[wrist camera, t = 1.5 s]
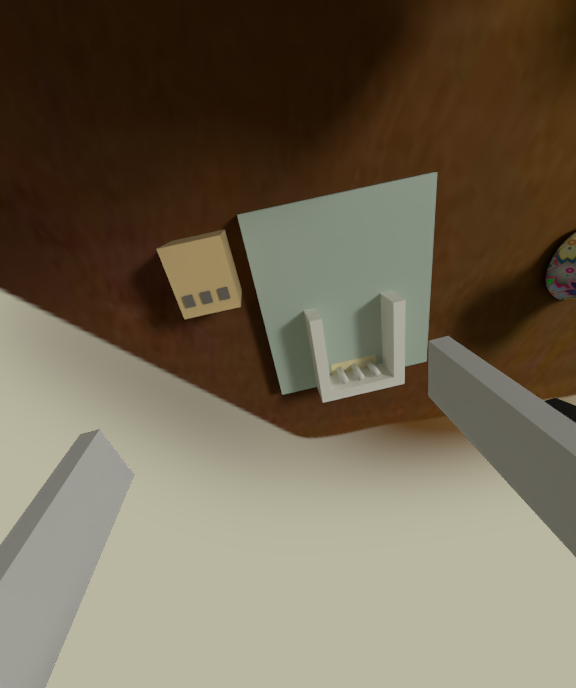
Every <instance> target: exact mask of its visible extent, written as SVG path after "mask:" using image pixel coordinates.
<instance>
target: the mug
mask: <svg viewBox="0 0 576 688" xmlns="http://www.w3.org/2000/svg"><path fill="white" fill-rule="evenodd" d="M546 286H547V289H548V291H549V292H550V294H551V295H552V296H554V297H555V298H557V299H560V300H574V299H576V232H575V233H574V234H573V235H571V236H570V237H569V238H568V239H567V240H566V241H565V242H564V243H563V244H562V245H561V246H560V247H559V248H558V250H557V251H556V252H555V254H554V255H553V257H552V259H551V261H550V263H549V266H548V268H547V272H546Z"/></svg>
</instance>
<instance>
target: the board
mask: <svg viewBox="0 0 576 688" xmlns="http://www.w3.org/2000/svg"><path fill="white" fill-rule="evenodd" d="M436 186H437V172H433V173H427V174H423V175H418V176H413V177H409V178H404V179H399V180H395V181H390V182H386V183H381V184H376V185H372V186H367V187H362V188H358V189H353V190H349V191H344V192H339V193H335V194H330V195H325V196H321V197H316V198H312V199H307V200H302V201H298V202H293V203H288V204H284V205H279V206H275V207H270V208H265V209H261V210H256V211H251V212H247V213H242V214H238V215H237V217H238V221H239V225H240V229H241V233H242V237H243V241H244V245H245V249H246V253H247V257H248V261H249V265H250V269H251V273H252V277H253V281H254V285H255V288H256V292H257V296H258V300H259V304H260V308H261V312H262V316H263V320H264V324H265V328H266V332H267V336H268V340H269V344H270V348H271V352H272V356H273V360H274V364H275V368H276V372H277V376H278V380H279V384H280V388H281V392H282V395H284V394H288V393H293V392H297V391H301V390H305V389H310V388H314V387H317V388H318V391H319V394H320V396H321V399H322V402H323V403H324V402H328V401H332V400H337V399H341V398H345V397H350V396H354V395H358V394H362V393H367V392H371V391H375V390H380V389H384V388H388V387H392V386H397V385H401V384H405V366H409V365H413V364H418V363H422V362H426V361H427V344H428V326H429V309H430V291H431V274H432V256H433V239H434V221H435V204H436Z"/></svg>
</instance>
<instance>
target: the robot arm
mask: <svg viewBox="0 0 576 688" xmlns="http://www.w3.org/2000/svg"><path fill="white" fill-rule="evenodd" d="M428 396H429V397H430V398H431V399H432V400H433V401H434V403H435V404H436V405H437V406H438V407H439V408H440V409H441V410H442V411H443V412H444V414H445V415H446V416H447V417H448V418H449V419H450V420H451V421H452V422H453V423H454V424H455V425H456V427H457V428H458V429H459V430H460V431H461V432H462V433H463V434H464V435H465V436H466V438H467V439H468V440H469V441H470V442H471V443H472V444H473V445H474V446H475V447H476V448H477V449H478V451H479V452H480V453H481V454H482V455H483V456H484V457H485V458H486V459H487V461H488V462H489V463H490V464H491V465H492V466H493V467H494V468H495V469H496V470H497V471H498V473H499V474H500V475H501V476H502V477H503V478H504V479H505V480H506V481H507V482H508V484H509V485H510V486H511V487H512V488H513V489H514V490H515V491H516V492H517V493H518V494H519V496H520V497H521V498H522V499H523V500H524V501H525V502H526V503H527V504H528V505H529V506H530V508H531V509H532V510H533V511H534V512H535V513H536V514H537V515H538V516H539V517H540V518H541V520H542V521H543V522H544V523H545V524H546V525H547V526H548V527H549V528H550V529H551V531H552V532H553V533H554V534H555V535H556V536H557V537H558V538H559V539H560V540H561V541H562V542H563V543H564V545H565V546H566V547H567V548H568V549H569V550H570V551H571V552H572V553H573V555H574V556H575V557H576V406H575V405H572V404H570V403H567V402H565V401H562V400H559V399H557V398H554V399H550V400H546V401H543V400H541V399H540V398H538V397H537V396H535V395H534V394H533V393H531V392H530V391H528V390H527V389H525V388H524V387H522V386H521V385H519V384H518V383H516V382H515V381H513V380H512V379H511V378H509V377H508V376H506V375H505V374H503V373H502V372H500V371H499V370H497V369H496V368H494V367H493V366H492V365H490V364H489V363H487V362H486V361H484V360H483V359H481V358H480V357H478V356H477V355H475V354H474V353H472V352H471V351H470V350H468V349H467V348H465V347H464V346H462V345H461V344H459V343H458V342H456V341H455V340H453V339H452V338H451V337H449V336H446V337H442V338H438V339H434V340H431V341H429V371H428ZM133 477H134V473H133V472H132V471H131V469H130V468H129V467H128V466H127V464H126V463H125V462H124V460H123V459H122V458H121V457H120V455H119V454H118V453H117V451H116V450H115V449H114V447H113V446H112V445H111V444H110V442H109V441H108V440H107V438H106V437H105V436H104V435H103V433H102V432H101V431H100V430H95V431H91V432H88V433H84V434H80V436H79V437H78V438H77V440H76V441H75V442H74V444H73V445H72V446H71V448H70V450H69V451H68V452H67V453H66V455H65V456H64V458H63V459H62V460H61V462H60V463H59V465H58V466H57V467H56V469H55V470H54V472H53V473H52V474H51V476H50V477H49V478H48V480H47V481H46V483H45V484H44V485H43V487H42V488H41V489H40V491H39V492H38V494H37V495H36V496H35V498H34V499H33V501H32V502H31V503H30V505H29V506H28V508H27V509H26V510H25V512H24V513H23V514H22V516H21V517H20V519H19V520H18V521H17V523H16V524H15V526H14V527H13V528H12V530H11V531H10V532H9V534H8V535H7V537H6V538H5V539H4V541H3V542H2V544H1V545H0V688H45V687H46V685H47V682H48V680H49V677H50V675H51V673H52V670H53V668H54V665H55V663H56V661H57V658H58V656H59V653H60V651H61V649H62V646H63V644H64V641H65V639H66V636H67V634H68V632H69V629H70V627H71V625H72V622H73V620H74V618H75V615H76V613H77V610H78V608H79V606H80V603H81V601H82V598H83V596H84V594H85V591H86V589H87V586H88V584H89V582H90V579H91V577H92V575H93V572H94V570H95V567H96V565H97V563H98V560H99V558H100V556H101V553H102V551H103V548H104V546H105V543H106V541H107V539H108V536H109V534H110V532H111V529H112V527H113V524H114V522H115V519H116V517H117V515H118V512H119V510H120V508H121V505H122V503H123V500H124V498H125V496H126V493H127V491H128V489H129V486H130V484H131V481H132V479H133Z"/></svg>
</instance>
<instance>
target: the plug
mask: <svg viewBox="0 0 576 688" xmlns="http://www.w3.org/2000/svg"><path fill="white" fill-rule="evenodd" d="M157 252H158V254H159V257H160V259H161V262H162V264H163V267H164V269H165V272H166V274H167V277H168V279H169V282H170V285H171V287H172V290H173V292H174V295H175V297H176V300H177V302H178V305H179V307H180V310H181V312H182V315H183V317H184V319H189V318H193V317H198V316H202V315H206V314H211V313H215V312H220V311H224V310H229V309H233V308H238V307H241V295H242V290H241V286H240V282H239V279H238V275H237V272H236V268H235V264H234V261H233V257H232V254H231V250H230V246H229V243H228V239H227V236H226V232H225V230H220V231H216V232H211V233H206V234H202V235H197V236H193V237H188V238H183V239H179V240H174V241H171V242H169V243H167V244H165V245H163V246H161V247H159V248H157Z"/></svg>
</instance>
